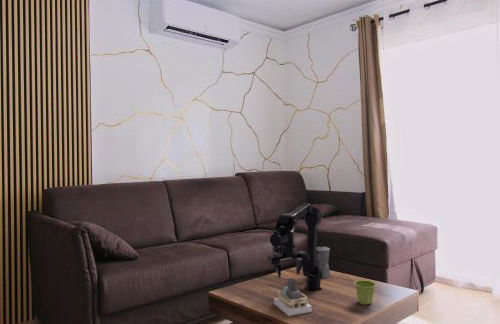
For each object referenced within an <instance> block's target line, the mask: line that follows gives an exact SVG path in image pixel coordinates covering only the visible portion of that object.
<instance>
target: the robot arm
mask: <svg viewBox="0 0 500 324" xmlns="http://www.w3.org/2000/svg"><path fill="white" fill-rule="evenodd" d="M302 218H304V223H305V225H306V227H307V238H306V239H307V241H306V251H304V250H300V251H296V252H295V248H296V244H295V240H294V239H295V236H294V235H295V234H294V232H296V228H295V227H296V225H298V221H299V220H300V219H302ZM322 218H323V213H322V212H321V211H320V210H319V209H318V208H316V207H314V206H313V205H312V204H310V203H301V204H300V205H299V206H298V207H296V208H295V209H293V210H292V211H290V212H287V213H282V214H280V215H279V216H278V218H277V222H276V224H275V227H274V230H273V234H271V235H270V238H269V242H270V245H271V246H272V255H271V254H269V255H267V257H266V262H267V263H269V264H270V265H272V266H273V267H274V269H275V271H276V274H277V277H278V279H281V276H282V273H281V272H282V271H281V269H282V264H281V263H280V262H281V261H289V260H294V259H295V263H296V264H295V265H296V266H295V269H296V270H295V272H296V275H297V276H299V274H300V273H301V270H302V274H303V275H302V276H304V277H306V279H305V286H304V288H306V289H307V290H309V291H311V292H312V291H313V292H314V291H320V290H323V288H322V287H321V279H323V278H322V277H323V271H322V269H321V268H320V262H319V260H318V258H317V247H318V228H319V226H320V224H321V223H322Z"/></svg>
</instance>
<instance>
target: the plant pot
mask: <svg viewBox="0 0 500 324" xmlns="http://www.w3.org/2000/svg"><path fill="white" fill-rule="evenodd" d="M354 285H355V288H356V297H357V302H358V303H359V304H360V305H372V304H373V300H374V299H373V297H374V290H375V287H376V286H377V285H376V283H375V282H374V281H372V280H365V279H361V280H355V281H354Z"/></svg>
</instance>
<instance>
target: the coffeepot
mask: <svg viewBox="0 0 500 324" xmlns="http://www.w3.org/2000/svg"><path fill="white" fill-rule="evenodd" d="M319 245H320V246H317V258H318V260H319V262H320V268H321V269H322V271H323V277H322V278H321V279H328V278H330V277H331V273H330V266H329V259H330V252H331V248H330V247H328V246H324V243H322V242H321V243H320V244H319Z"/></svg>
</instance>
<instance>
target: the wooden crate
mask: <svg viewBox="0 0 500 324" xmlns="http://www.w3.org/2000/svg"><path fill="white" fill-rule="evenodd" d="M286 282H287V284H286V285H287V287H288V296H286V295H285V294H284V289H281V290H276V296H278V297H277V298H279V299H280V300H281V301H282V302H284V303H285V304H286V305H287V306H289V307H290V308H291V309H292V308H295V306H296V307H301V305H303V306H307V303H309V299H310V298H309V297H308V296H307V295H305V294H304V293H302V292H301V298H299V299H293V300H291V299H290V291H297V290H298V288H297V287H298V286H297V279H295V278H293V277H292V278H287V281H286Z"/></svg>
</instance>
